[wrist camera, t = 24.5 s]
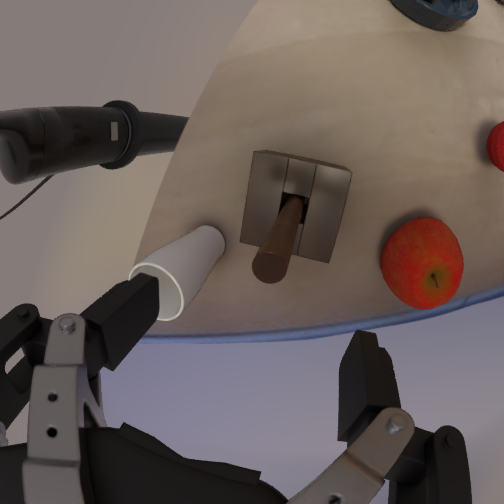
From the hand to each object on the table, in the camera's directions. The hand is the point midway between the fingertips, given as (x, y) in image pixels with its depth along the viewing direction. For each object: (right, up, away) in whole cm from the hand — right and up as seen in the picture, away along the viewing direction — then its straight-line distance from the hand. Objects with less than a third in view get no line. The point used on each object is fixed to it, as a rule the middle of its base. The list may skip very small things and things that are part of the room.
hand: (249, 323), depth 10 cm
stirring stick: (+6, +10, +23) cm, 26 cm away
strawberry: (+32, +17, +14) cm, 39 cm away
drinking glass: (-6, +4, +29) cm, 30 cm away
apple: (+22, +3, +22) cm, 31 cm away
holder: (+6, +10, +24) cm, 26 cm away
